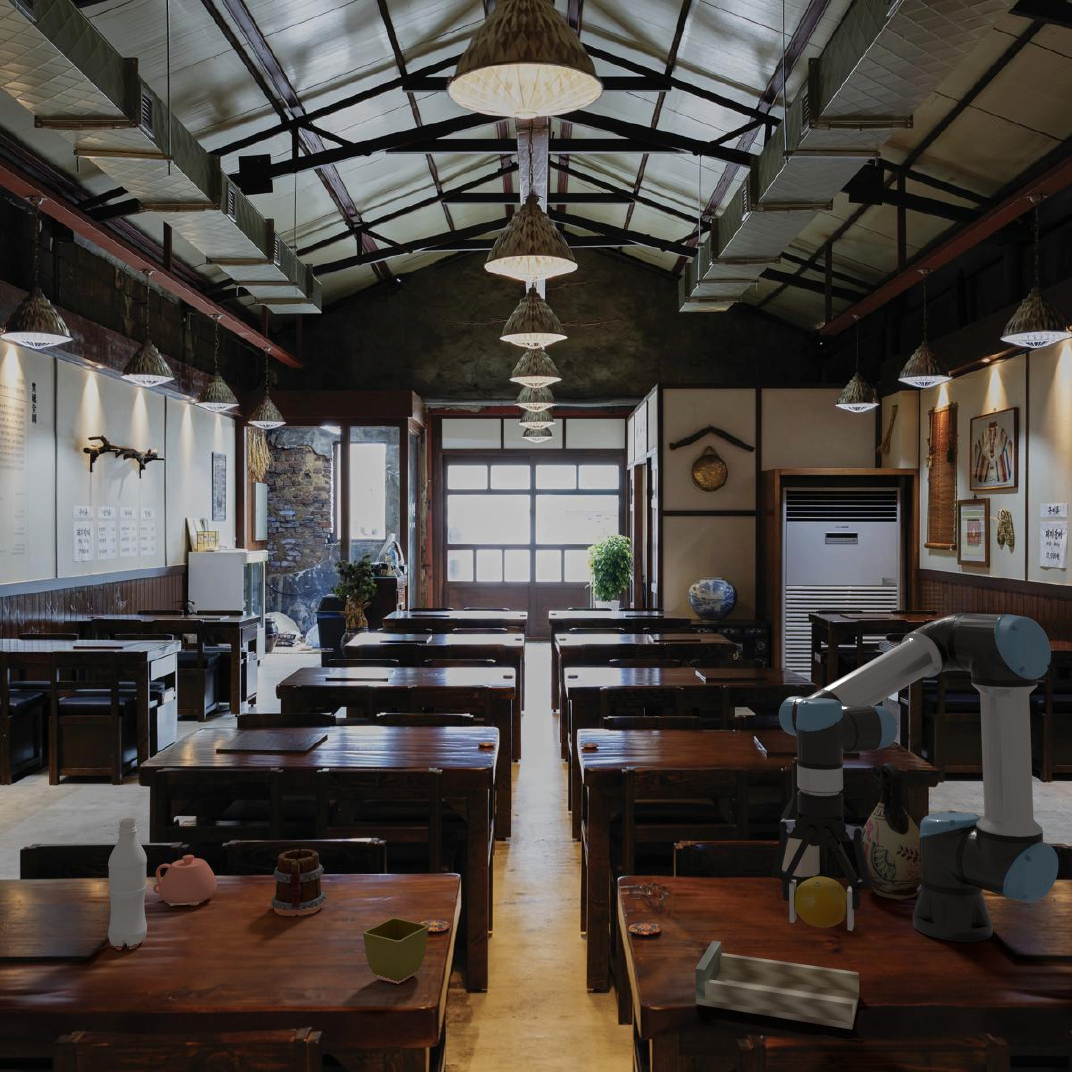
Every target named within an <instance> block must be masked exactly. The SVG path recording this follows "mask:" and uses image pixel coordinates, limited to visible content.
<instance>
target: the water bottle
mask: <svg viewBox="0 0 1072 1072" xmlns="http://www.w3.org/2000/svg"><path fill="white" fill-rule="evenodd" d="M137 832H138V828H137V826H136V818H134V817H128V818H122V819H120V820H119V827H118V832H117V834H119V835H118V839H117V842H116V843H115V846H114V848H113V849H112V852H111V854H110V856H109V859H108V863H107V864H108V865H107V866H108V894H109V900H110V918H109V919H110V920H109V926H108V930H107V936H108V940H109V944H110V945H111V946H112V945H113V946H123V945H124V944H125V943H126V944H125V945H126V946H127V947H128V946H132V945H134V944H138V943H140V942H141V941H142V940H144V939H145V940H146V937H147V933H148V925H147V920H146V919H147V918H146V913H145V912H146V911H145V895H146V891H147V862H148V859H147V858H148V857H147V854H146V851H145V850H144V848H143V846H142V844H141V843H140V841H139V839H138V836H137ZM145 940H144V941H145ZM125 945H124V946H125Z"/></svg>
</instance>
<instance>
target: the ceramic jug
mask: <svg viewBox="0 0 1072 1072" xmlns="http://www.w3.org/2000/svg"><path fill="white" fill-rule="evenodd" d="M899 769H900V768H898V766H896V765H895V764H894V763H891V762H885V763H884V764H882V765H881V768H880V767H879V766H878V765H873V767H872V768H871V775H872V777H874V778H875V779H876V780H878V781H879V784H880V788H881V791H880V799H879V802H878V803H877V805H876V806H875V808H874V810H873V811H872V812H871V813H870V816H869V818H868V819H867V821H866V823H865V824H864V826H863V827H862V828H863V833H862V843H863V847H864V851H865V856H866V860H867V864H868V868H869V872H870V877H871V885H870V887H871V888H872V889H873V892H874V893H875V894H876V895H878V896H880V897H883V898H887V899H893V900H899V901H901V900H905V899H906V900H907V899H910V898H914V897H916V896H918V889H919V887H921V865H920V838H919V835H920V828H918V827H917V825H916V824H915V822H914V821H913V819H912V817H911V816H910V815H909V814H908V812H907V810H906V809H905V808H904V807H903V784H902V783H903V781H902V775H901V771H900V770H899Z"/></svg>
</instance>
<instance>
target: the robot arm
mask: <svg viewBox="0 0 1072 1072" xmlns="http://www.w3.org/2000/svg"><path fill="white" fill-rule="evenodd" d="M1051 658H1052V651H1051V644H1050V641H1049V638H1048V635H1047V634H1046V632H1045V630H1044V628H1043V627H1041V626H1040V624H1039V623H1038V622H1037V621H1035V620H1034V619H1032V618H1030V617H1026V616H1022V615H1021V616H1020V615H1014V614H1007V613H1006V614H1005V613H1004V614H1003V613H1001V614H1000V613H998V614H997V613H973V612H958V613H952V614H950V615H949V614H948V615H947V616H943V617H940V618H938V619H935V620H933V621H931V622H928V623H926V624H924V625H922V626H920V627H917V628H915V630H913V631H910V632H909V633H907V634H905V636H904V637H903V638H902V640H901V643H900V644H899V645H897V646H895V647H893V648H892V649H890V650H888V651H886V652H885V653H883V654H881V655H879V656H877V657H876V658H874V659H872V660H870V661H868V662H867V663H865V664H863V665H862V666H860V667H858V668H857V669H854V670H853V671H851V672H850V673H848V674H846V675H844V676H843V677H840V678H839V679H837V680H835V681H833V682H832V683H829V684H828V685H826V686H825V687H823V688H821V689H819V690H818V691H816V692H814V693H812V694H811V695H809V696H806V697H805V696H803V695H797V696H789V697H787V698H785V700H783V702H782V703H781V705H780V708H779V711H778V720H779V725H780V726H781V728H782V730H783V731H784V732H785V733H787V734H788V735H791V736H794V737H796V754H797V786H798V787H799V788H800V789H801V790H799V792H798V815H797V818H796V820H787V819H785V818H784V819H782V820H780V821H779V823H778V828H779V840H778V844H777V849H776V852H775V856H774V857H775V858H774V862H773V866H772V872H771V876H772V877H773V878H774V879H779V880H780V881H781V883H782V882H783V889H782V898H783V901H785V902H789V923H791V924H795V922H796V920H797V915H798V913H797V911H796V908H795V903H794V897H795V892H796V880H791V877H792V876H793V874H794V872H795V870H796V868H797V866H798V864H799V862H800V860H801V858H802V856H803V854H804V852H805V850H806V848H807V846H808V845H809V844H810V845H811V846H819V847H823V848H827V849H830V848H831V851H832V852H833V854H834V855H835V857H836V860H837V861H838V863H839V865H840V868H841V869H842V872H843V873H844V876H845V877H846V880H847V881H848V884H849V886H848V887H847V890H846V893H847V913H846V916H847V919H846V920H847V923H846V924H847V931H851V932H853V929H854V927H855V912H854V911H857V910H858V911H859V910H860V907H861V890H863V889H864V890H865V889H866V890H867V889H870V888H871V877H870V872H869V868H868V864H867V860H866V856H865V851H864V847H863V843H862V833H863V828H864V827H863V826H862V825H858V824H857V826H854V825H850V824H847V823H846V821H845V819H844V794H843V793H842V792H841V791H842V790H843V789H844V774H843V772H844V770H843V768H844V767H843V766H844V754H849V753H857V752H866V751H867V752H868V751H878V750H879V749H880V750H881V749H885V748H888V747H889V746H891V745H892V744H893V743H894V741H896V738H897V735H898V724H897V720H896V718H895V716H894V714H893V713H892V711H890V710H889V709H888V708H886V707H885V706H883V705H878V704H879V703H881V702H882V701H884V700H886V699H887V698H890V697H891V696H893V695H894V694H897V693H898V692H900V691H902V690H903V689H904V688H906V687H908V686H910V685H911V684H913V683H915V682H916V681H918V680H920V679H921V678H932V677H935V676H937V675H939V674H940V673H944V672H947V671H951V672H952V671H961V672H970V679H971V681H970V682H971V685H972V686H973V687H974V688H975V689H976V690H977V691H978V693H979V695H980V723H981V725H980V726H981V727H980V728H981V753H982V754H981V755H982V780H983V781H982V783H983V784H982V785H983V814H984V815H983V816H982V817H980V816H979V815H977V814H973V813H964V812H947V813H946V812H945V813H944V812H943V813H934V814H929V815H926V816H924V817H923V818H922V819H921V821H920V824H919V825H920V828H919V831H920V835H919V838H920V865H921V885H920V890H919V891H918V892H919V893H918V894H917V899H916V902H915V905H914V908H913V911H912V926H913V928H914V929H915V930H917V931H918V932H919V933H921V934H924V935H926V936H928V937H931V938H935V939H938V940H943V941H949V942H956V943H978V942H982V941H986V940H989V939H991V938H992V936H993V935H994V934H993V933H994V929H993V926H994V925H993V923H994V922H993V920H992V917H991V914H990V912H989V908H988V905H987V902H986V900H985V898H984V894H983V891H987V892H990V893H992V894H996V895H998V896H1000V897H1001V896H1002V897H1004V898H1006V899H1007V900H1010V901H1018V902H1021V903H1024V904H1026V903H1027V904H1033V903H1037V902H1039V901H1041V900H1042V899H1043V898H1045V897H1046V896H1047V895H1048V894H1049V893H1050V891H1051V889H1052V888H1053V887H1054V885H1055V882H1056V879H1057V876H1058V872H1059V858H1058V854H1057V852H1056V851H1055V849H1054V848H1053V847H1052V846H1051V845H1050V844H1049V843H1047V842H1044V830H1043V828H1042V826H1041V824H1039V823H1038V822H1037V821H1036V820H1035V819H1034V799H1033V795H1034V794H1033V771H1032V770H1033V769H1032V768H1033V767H1032V743H1031V739H1032V737H1031V710H1030V708H1031V707H1030V694H1031V693H1032V692H1033V691H1034V690H1035V689H1036V688H1038V684H1039V683H1038V679H1039V678H1041V677H1043V676H1044V675H1045V674H1046V673H1047V671H1048V670H1049V667H1048V666H1049V665H1050V664H1051ZM793 827H796V828H797V829H798V831H799V832H800V834H801V835H802V837H803V839H802V841H801V843H800V845H799V847H798V849H797V851H796V853H795V855H794V857H793V859H792V861H791V863H790V865H789V867H788V869H787V871H786V872H785V871H783V870H782V866H783V861H784V857H785V852H786V847H787V843H788V838H789V833H791V832H792V831H793ZM845 833H847V834H848V837H849V839H850V840H852V844H853V849H854V854H855V858H856V862H857V866H858V870H859V875H860V878H859V877H858V876H857V873H856V872H855V870H854V868H853V867H854V866H853V865H852V864H851V861H850V859H849V857H848V855H847V853H846V851H845V849H844V847H843V846H844V845H843V843H842V842H841V840H840V839H841V837H842V836H843V835H844V834H845ZM992 934H993V935H992Z"/></svg>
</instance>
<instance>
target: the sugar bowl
mask: <svg viewBox="0 0 1072 1072" xmlns="http://www.w3.org/2000/svg"><path fill="white" fill-rule="evenodd" d="M163 868H166V869H167V870H166V872H165V873H164V876H163V877H161V870H162V869H163ZM155 877H156V881H157V883H155V884H154V885H153V888H152V889H153V892H154V893H156V894H159V897H160V899H161V901H163V900H164V901H166V902H169V903H189V902H195V901H199V900H203V899H207V898H209V897H211V896H212V895H215V893H216V892H217V889H218V885H217V884H218V882H217V879H216V876H215V874H214V871H213V870H212V868H211V867H210V865H209V863H208V862H207V861H206V860H205V859H202V858H198V857H197V858H196V857H195V856H194V855H193V854H187V855H183V856H182V859H179V860H176V861H174V862H172V863H171V864H169V863H163V864H161V865H159V866H158V867H157V868H156V871H155ZM157 887H158V888H157ZM212 897H213V896H212ZM212 897H211V898H212ZM164 901H163V902H164Z"/></svg>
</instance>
